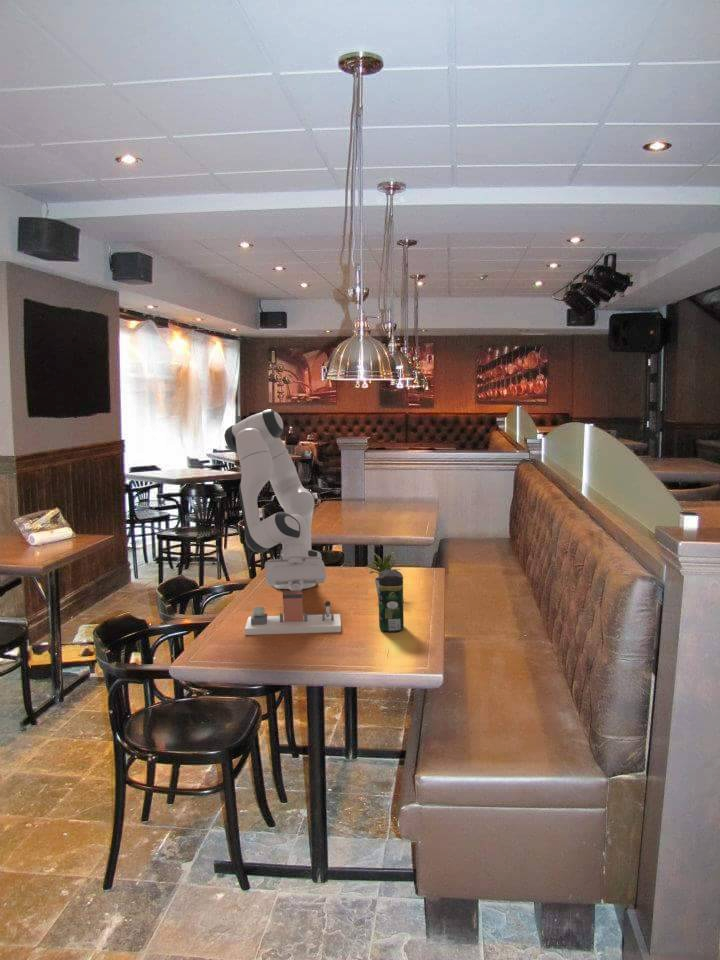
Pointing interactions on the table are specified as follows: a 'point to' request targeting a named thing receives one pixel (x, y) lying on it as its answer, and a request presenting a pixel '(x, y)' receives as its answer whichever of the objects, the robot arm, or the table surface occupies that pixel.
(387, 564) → the house plant
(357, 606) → the table surface
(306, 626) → the control panel
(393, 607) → the coffee jar
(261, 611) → the push button
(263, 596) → the table surface
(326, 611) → the toggle lever
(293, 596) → the paddle
